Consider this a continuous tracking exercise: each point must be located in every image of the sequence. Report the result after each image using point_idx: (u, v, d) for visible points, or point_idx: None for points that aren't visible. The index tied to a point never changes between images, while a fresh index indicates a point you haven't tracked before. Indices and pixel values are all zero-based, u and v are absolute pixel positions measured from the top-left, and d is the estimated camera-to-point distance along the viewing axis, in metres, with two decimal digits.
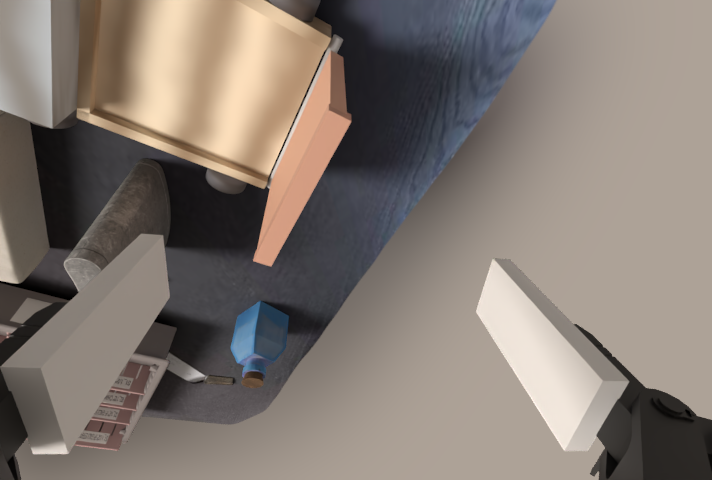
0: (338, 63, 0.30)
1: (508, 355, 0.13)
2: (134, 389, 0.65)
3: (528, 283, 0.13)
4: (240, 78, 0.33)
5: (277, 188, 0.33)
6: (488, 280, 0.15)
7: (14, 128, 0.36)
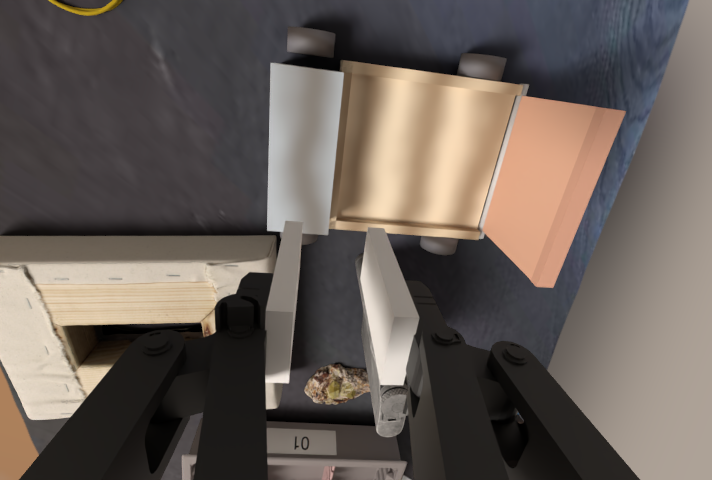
0: None
1: (368, 311, 0.15)
2: None
3: (386, 246, 0.15)
4: (448, 148, 0.39)
5: (518, 221, 0.36)
6: (365, 248, 0.17)
7: None
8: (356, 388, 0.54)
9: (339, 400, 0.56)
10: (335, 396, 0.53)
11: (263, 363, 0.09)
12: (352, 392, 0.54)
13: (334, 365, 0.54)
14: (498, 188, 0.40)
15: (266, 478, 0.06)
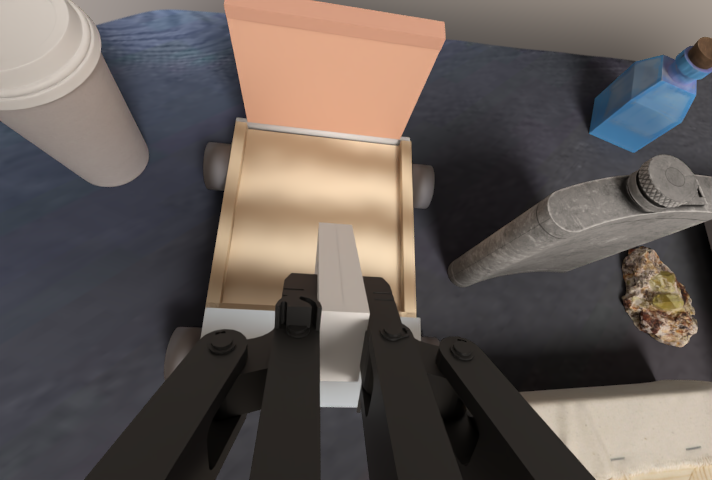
0: None
1: None
2: None
3: (350, 242, 0.15)
4: (306, 188, 0.34)
5: (374, 90, 0.31)
6: None
7: None
8: (656, 270, 0.38)
9: (683, 294, 0.38)
10: (678, 298, 0.36)
11: (318, 364, 0.09)
12: (664, 275, 0.37)
13: (626, 305, 0.38)
14: (347, 128, 0.35)
15: (319, 478, 0.06)
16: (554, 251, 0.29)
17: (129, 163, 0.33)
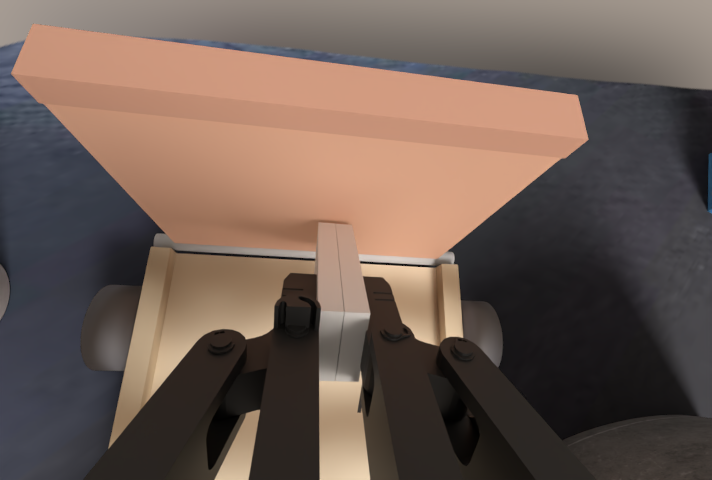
0: None
1: None
2: None
3: (350, 242, 0.15)
4: None
5: (403, 210, 0.16)
6: None
7: None
8: None
9: None
10: None
11: (317, 364, 0.09)
12: None
13: None
14: None
15: (318, 478, 0.06)
16: None
17: None
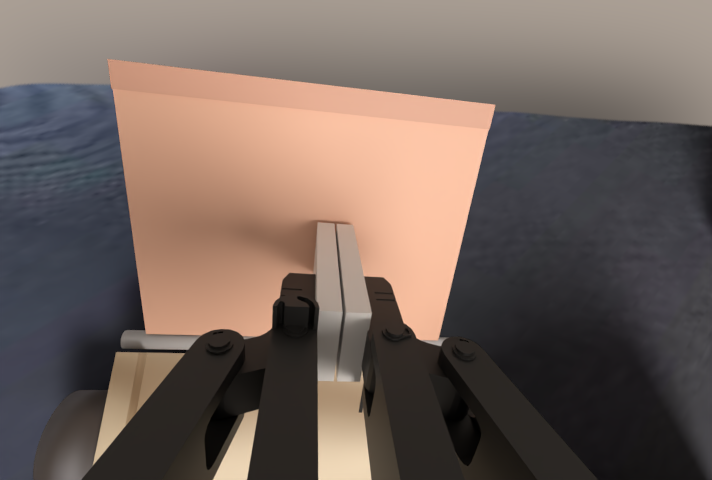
0: None
1: None
2: None
3: (351, 243, 0.15)
4: None
5: (385, 228, 0.17)
6: None
7: None
8: None
9: None
10: None
11: (316, 364, 0.09)
12: None
13: None
14: None
15: (316, 478, 0.06)
16: None
17: None
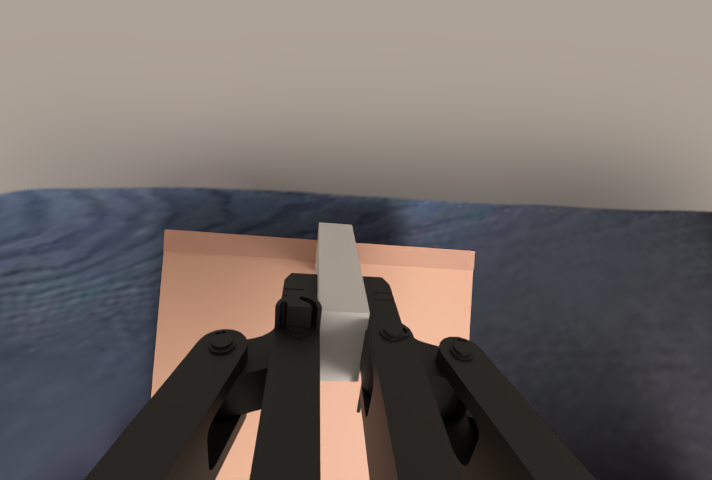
0: None
1: None
2: None
3: (350, 242, 0.15)
4: None
5: None
6: None
7: None
8: None
9: None
10: None
11: (318, 364, 0.09)
12: None
13: None
14: (354, 478, 0.18)
15: (319, 478, 0.06)
16: None
17: None
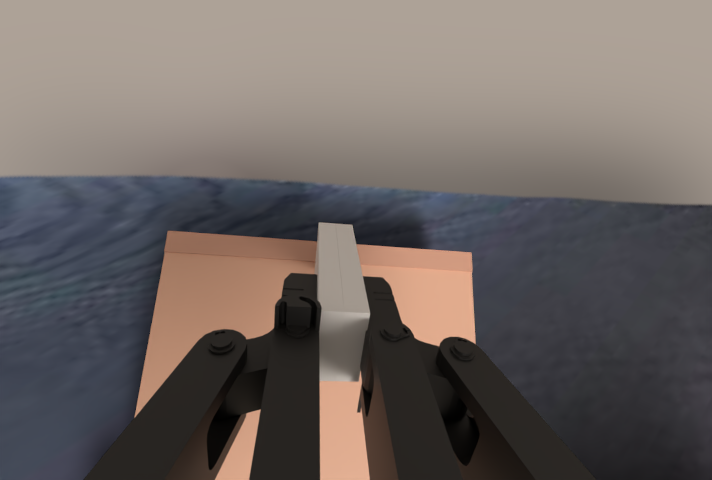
0: None
1: None
2: None
3: (350, 242, 0.15)
4: None
5: None
6: None
7: None
8: None
9: None
10: None
11: (318, 364, 0.09)
12: None
13: None
14: None
15: (318, 478, 0.06)
16: None
17: None
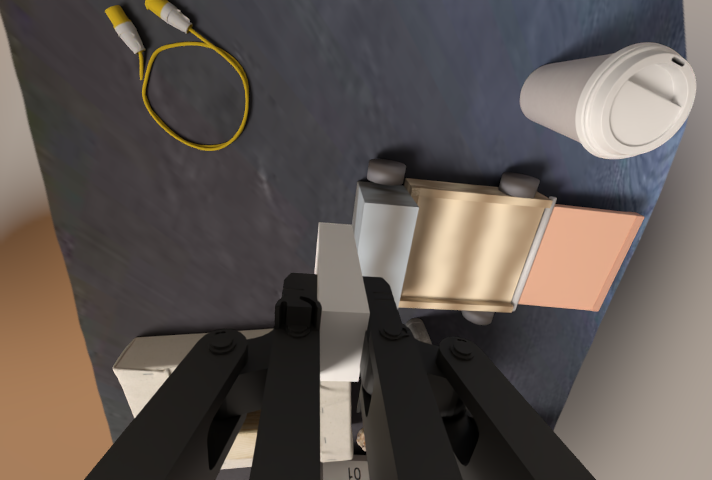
0: (568, 206, 0.47)
1: None
2: None
3: (350, 242, 0.15)
4: (490, 244, 0.48)
5: (569, 285, 0.52)
6: None
7: None
8: None
9: None
10: None
11: (318, 364, 0.09)
12: None
13: None
14: (536, 271, 0.50)
15: (319, 478, 0.06)
16: None
17: (535, 120, 0.42)
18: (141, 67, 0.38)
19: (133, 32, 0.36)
